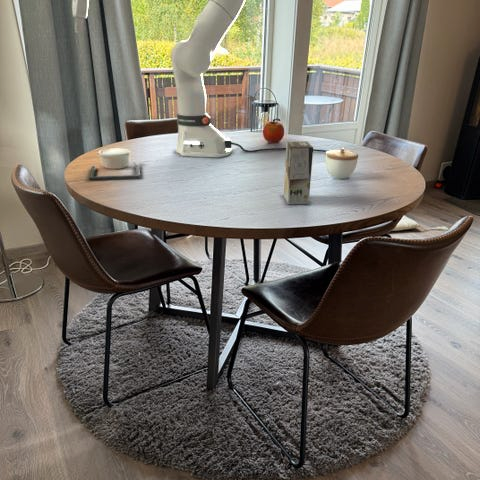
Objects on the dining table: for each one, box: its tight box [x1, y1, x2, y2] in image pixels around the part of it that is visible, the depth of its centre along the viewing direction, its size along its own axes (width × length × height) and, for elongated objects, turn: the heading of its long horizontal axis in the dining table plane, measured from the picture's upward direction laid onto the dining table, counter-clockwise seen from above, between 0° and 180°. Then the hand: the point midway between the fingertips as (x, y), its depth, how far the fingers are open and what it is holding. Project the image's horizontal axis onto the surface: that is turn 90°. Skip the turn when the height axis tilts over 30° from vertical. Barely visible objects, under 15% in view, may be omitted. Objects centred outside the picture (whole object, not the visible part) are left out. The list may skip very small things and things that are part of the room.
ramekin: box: [97, 147, 132, 170], centre depth 178 cm, size 11×11×5 cm
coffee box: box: [283, 140, 314, 205], centre depth 144 cm, size 9×6×16 cm
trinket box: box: [325, 147, 359, 180], centre depth 168 cm, size 11×11×9 cm
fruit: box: [262, 117, 285, 144], centre depth 216 cm, size 10×10×10 cm
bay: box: [88, 164, 141, 182], centre depth 170 cm, size 15×16×1 cm
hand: (78, 33), depth 166 cm, fingers open, 8 cm apart
